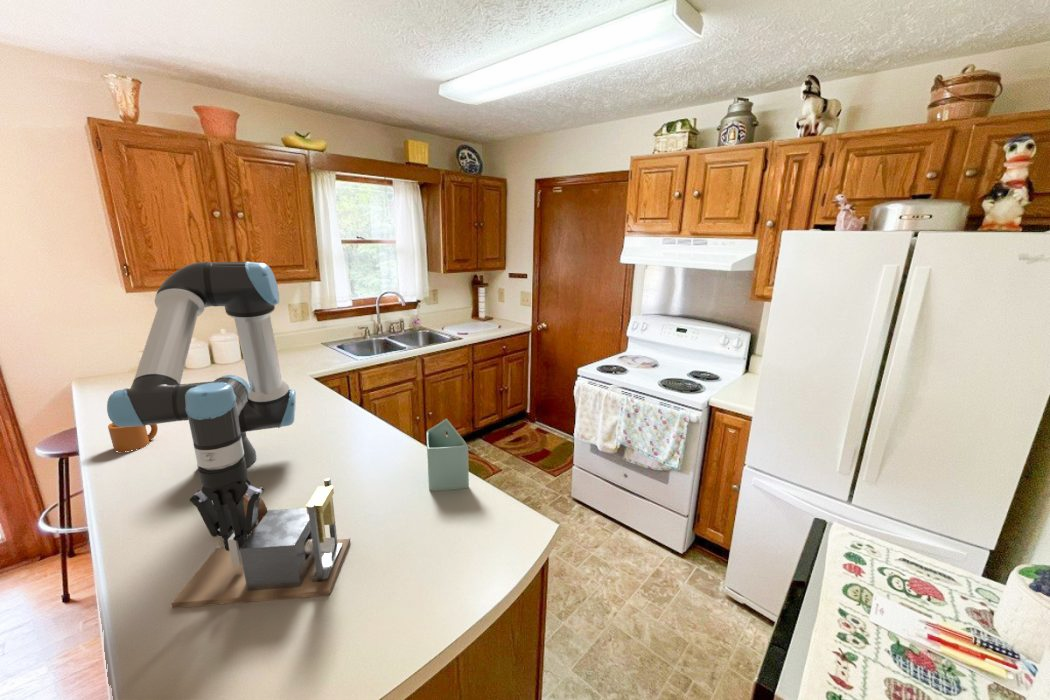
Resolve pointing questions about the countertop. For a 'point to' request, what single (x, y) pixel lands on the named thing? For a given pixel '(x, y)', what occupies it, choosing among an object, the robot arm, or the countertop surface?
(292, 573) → the block
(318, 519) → the bracket
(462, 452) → the planter
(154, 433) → the mug
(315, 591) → the board
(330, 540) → the pin
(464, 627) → the countertop surface
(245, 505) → the tin
